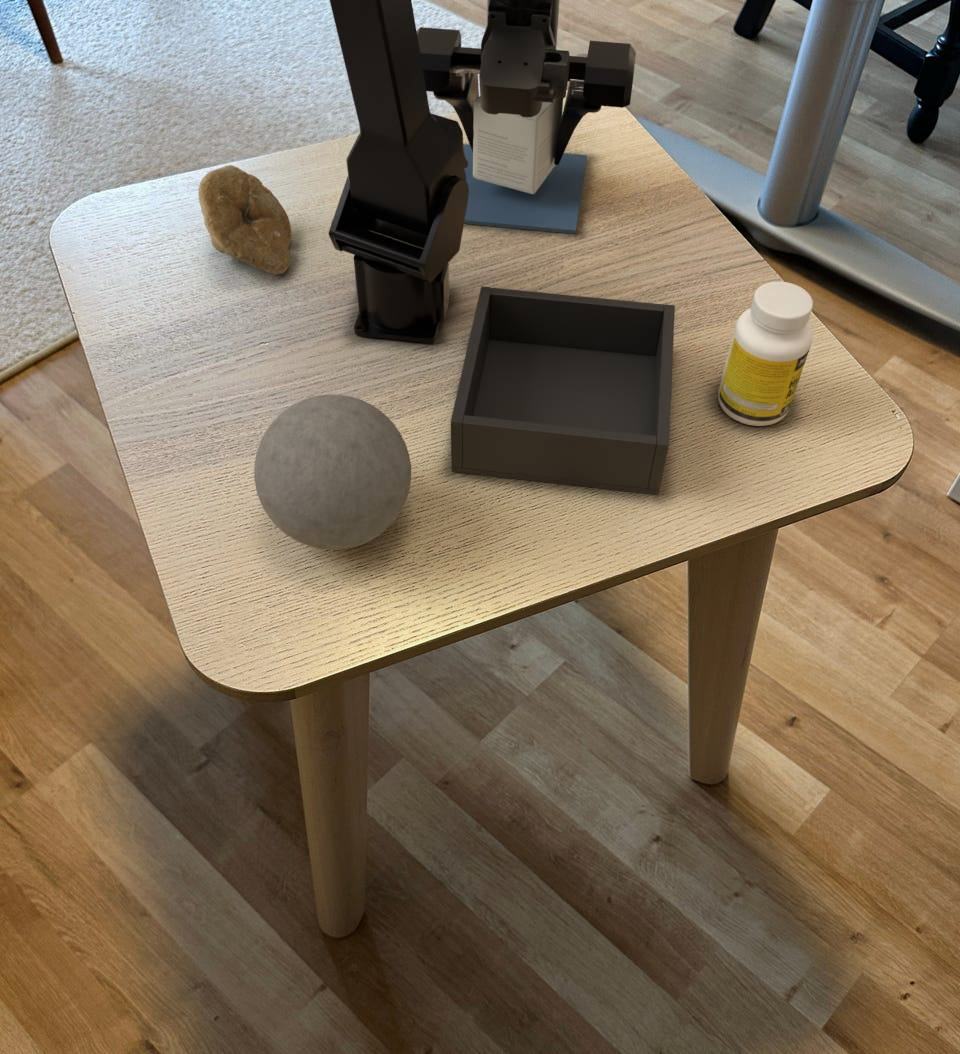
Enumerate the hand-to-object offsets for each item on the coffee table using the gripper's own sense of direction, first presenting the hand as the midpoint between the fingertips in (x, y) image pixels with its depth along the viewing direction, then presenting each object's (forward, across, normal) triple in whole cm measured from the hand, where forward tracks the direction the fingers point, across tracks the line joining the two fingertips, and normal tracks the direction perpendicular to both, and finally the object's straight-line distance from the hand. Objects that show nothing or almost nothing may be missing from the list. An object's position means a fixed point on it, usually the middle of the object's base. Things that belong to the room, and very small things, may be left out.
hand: (516, 158), depth 96 cm
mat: (+3, 0, 0) cm, 3 cm away
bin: (+3, +7, -28) cm, 29 cm away
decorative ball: (+4, -7, -41) cm, 42 cm away
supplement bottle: (+3, +21, -25) cm, 33 cm away
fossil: (+3, -21, -13) cm, 25 cm away
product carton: (+1, 0, 0) cm, 1 cm away
